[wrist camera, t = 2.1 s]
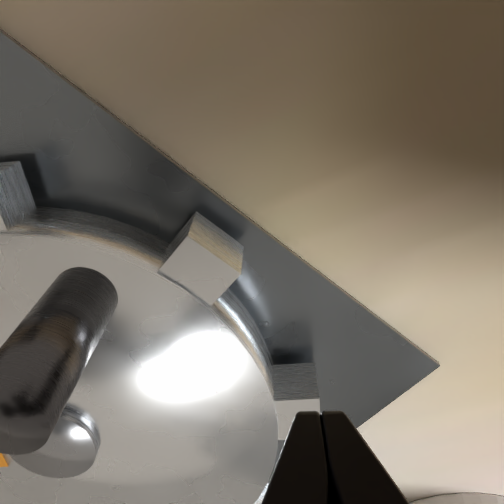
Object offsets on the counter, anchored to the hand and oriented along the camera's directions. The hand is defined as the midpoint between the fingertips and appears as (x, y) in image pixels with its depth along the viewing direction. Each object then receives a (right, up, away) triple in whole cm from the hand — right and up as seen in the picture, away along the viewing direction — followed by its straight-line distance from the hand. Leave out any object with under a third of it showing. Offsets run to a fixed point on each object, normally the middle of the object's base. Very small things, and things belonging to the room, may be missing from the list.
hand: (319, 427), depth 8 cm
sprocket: (-8, -2, +9) cm, 12 cm away
